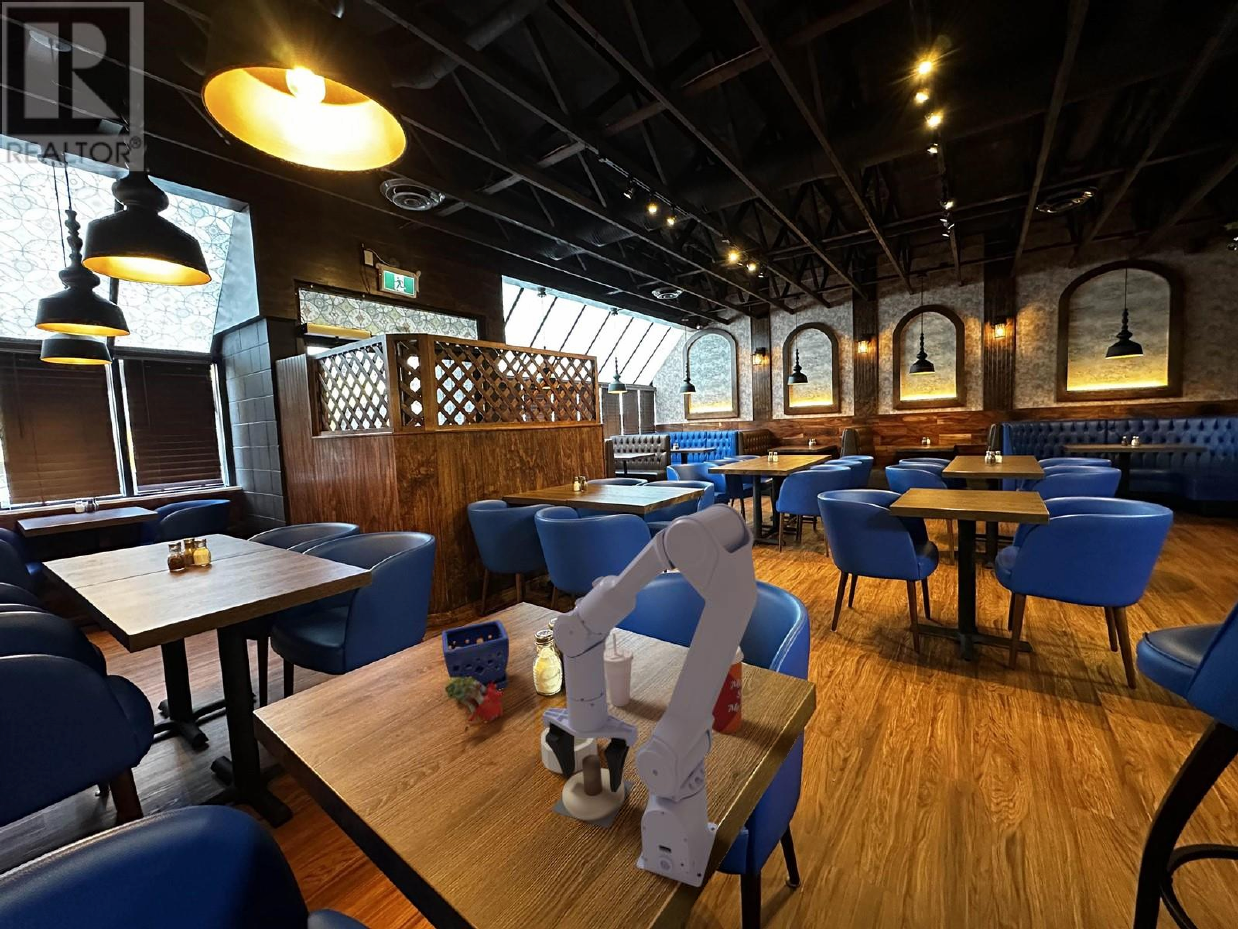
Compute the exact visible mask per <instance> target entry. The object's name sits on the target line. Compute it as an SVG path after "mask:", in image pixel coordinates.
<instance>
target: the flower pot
mask: <svg viewBox="0 0 1238 929" xmlns="http://www.w3.org/2000/svg"><path fill="white" fill-rule="evenodd" d="M489 636H491V637H489ZM481 639H482V642H479V643H478V640H481ZM509 640H510V638H509V636H508V633H507V631H506V627H505V626H504V625H503V622H501V621H500V620H499V619H496V620H490V621H484V622H480V623H479V622H478V623H474V624H468V625H464V626H459V627H454V628H450V629H446V630H443V631H442V633H441V641H442V642H441V643H442V653H443V658H444V661H445V662H444V663H445V667H446V670H447V673H448V675H449V679H450V678H452V677H460V678H464V677H467V678H469V677H470V676H471V677H472V678H473V679H475V680H478V681H479V682H480V683H482V684H483V685H484V686H485V687H486V688H487V685H488V684H491V682H492V680H493V679H494V682H493V685H495V684H496V685H497V687H496V688H495V689H496V690H499V689H502V688H504V689H505V688H506V687H507V686H508V685H509V677H508V675H507V671H506V670H507V668H508V662H509V657H510V641H509ZM467 641H468V642H467ZM450 647H451V648H450ZM502 690H503V689H502ZM454 699H455V700H457V699H456V698H454Z"/></svg>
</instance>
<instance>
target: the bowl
mask: <svg viewBox="0 0 1238 929" xmlns="http://www.w3.org/2000/svg"><path fill="white" fill-rule="evenodd" d="M549 729H550V727H549V728H546V727H545V729H544V730H542V732H541V735H540V736H541V737H540V749H541V761H542V763H543V765H544V766H545V768H546V769H548V770H549V771H551V772H553V773H557V774H562V775H563V773H562V770H561V767H560V764H559V762H558V760H557V758H556V756H555V754H554V752H553V751H552V749H551V748H550V746H549V745H548V744H547V743H546V740H545V736H546V735H547V733H548V732H549ZM597 739H598V738H579V737H575V738H574V752H575V771H574V772H573V774H574V773H579V772H580V770H582V769H583V765H582V760H583V759H584V757H586V756H588V755H597V756H598V743H597Z"/></svg>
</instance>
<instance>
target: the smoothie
mask: <svg viewBox="0 0 1238 929" xmlns="http://www.w3.org/2000/svg"><path fill="white" fill-rule="evenodd" d="M616 634H617V633H616V632H613V633H612V643H613V646H612V647H610V648H606V650H605V651H604V667H605V681H606V684H607V690H608V695H609V700H610V704H611V705H612V706H614V707H624V706H627V705H628V704H629V703H630V697H631V694H630V693H631V682H632V681H631V678H632V661H633V660H634V654H633V651H632V650H631V649H630V648H627V647H623V646H617V638H616V637H617V635H616Z"/></svg>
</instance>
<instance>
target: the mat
mask: <svg viewBox="0 0 1238 929" xmlns="http://www.w3.org/2000/svg"><path fill="white" fill-rule="evenodd" d="M581 771H583V769H582V770H580V771H579V772H581ZM622 780H623V783H624V791H625V797H624V801H623V803H622V805H623V804H624V802H625V800H626V799H627V797H628V794H629V793H630V791H631V789H632V788H633V786H634V785H635V782H634V781H632V780H631V781H630V780H628V779H623V778H622ZM622 805H621V806H620V808H619V809H618V810H617V811H616V812H614V813H613V814H612V815H610V816H608V817H606V818H603V819H600V820H593V821H586V820H580V819H577V818H575V817H573V816H571V815H570V814H569V813H568V812H567V811H566V810H565V808H564V805H563V796H562V795H561V796H560V798H559V799H558V800H557V802H556V803H555V804H554V805H553V807H552V809H551V810H550V811H551V812H552V813H557V814H560V815H562V816H566V817H569V818H572V819H576V820H579V821H583V822H585V823H588V824H592V825H595V826H599V827H602V828H606V829H610V828H611V827H610V826H611V825H612V823H613V822H614V820H615V818H616V816H617V815H618V813H619V810H621V807H622Z"/></svg>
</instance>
